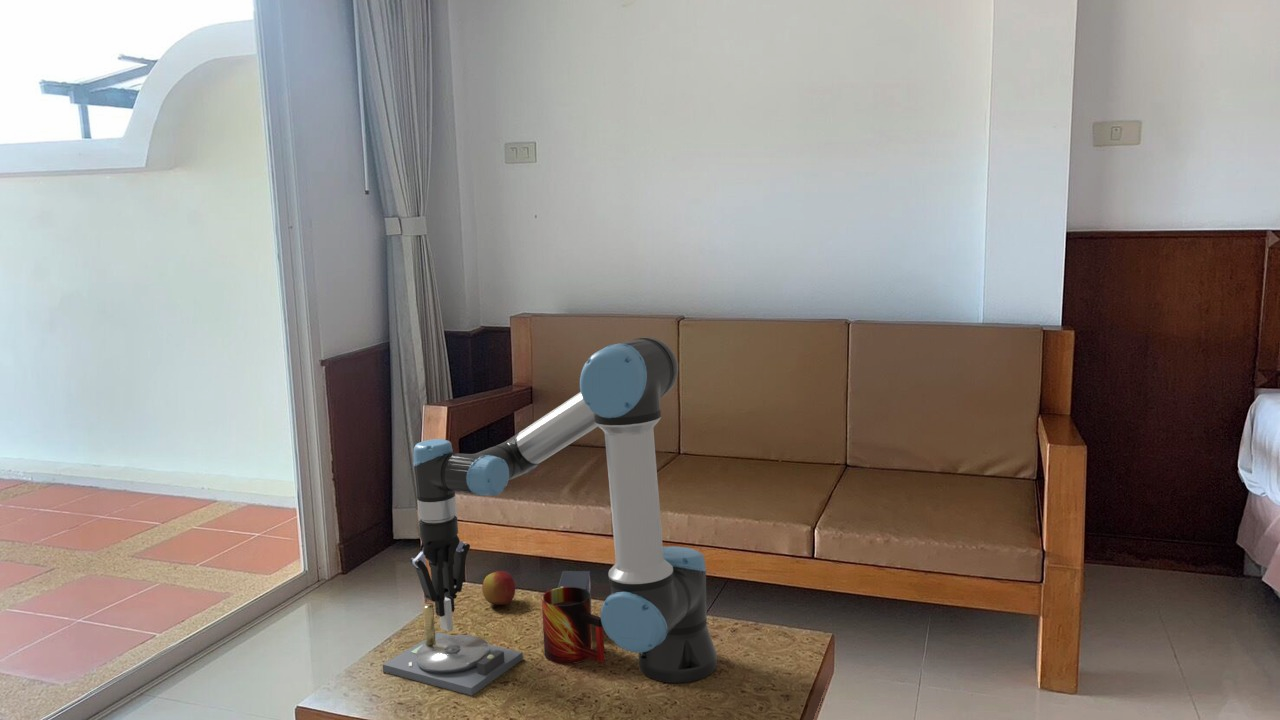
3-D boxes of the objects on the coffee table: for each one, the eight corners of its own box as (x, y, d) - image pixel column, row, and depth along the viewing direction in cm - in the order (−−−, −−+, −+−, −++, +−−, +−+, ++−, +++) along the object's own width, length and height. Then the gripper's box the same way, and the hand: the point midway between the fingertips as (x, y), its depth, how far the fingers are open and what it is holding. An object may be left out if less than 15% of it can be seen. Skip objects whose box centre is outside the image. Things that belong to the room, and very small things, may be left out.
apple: (521, 598, 215) (519, 565, 214) (509, 612, 207) (508, 578, 206) (490, 597, 217) (488, 564, 215) (477, 611, 209) (475, 577, 208)
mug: (603, 668, 180) (600, 609, 178) (537, 661, 184) (534, 603, 182) (618, 646, 189) (616, 590, 187) (554, 640, 193) (552, 585, 191)
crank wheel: (450, 635, 192) (447, 592, 191) (503, 648, 185) (500, 605, 184) (401, 663, 180) (397, 618, 179) (455, 679, 173) (452, 632, 172)
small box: (589, 635, 194) (587, 588, 193) (558, 636, 194) (556, 589, 193) (592, 615, 205) (590, 569, 203) (563, 615, 205) (561, 570, 203)
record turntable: (522, 659, 185) (521, 639, 184) (471, 695, 171) (470, 674, 170) (437, 638, 195) (436, 620, 195) (383, 671, 181) (381, 651, 181)
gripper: (453, 505, 192) (462, 613, 195) (399, 522, 183) (409, 634, 186) (475, 512, 186) (483, 623, 190) (420, 529, 177) (429, 645, 181)
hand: (446, 628), depth 188 cm, fingers closed
